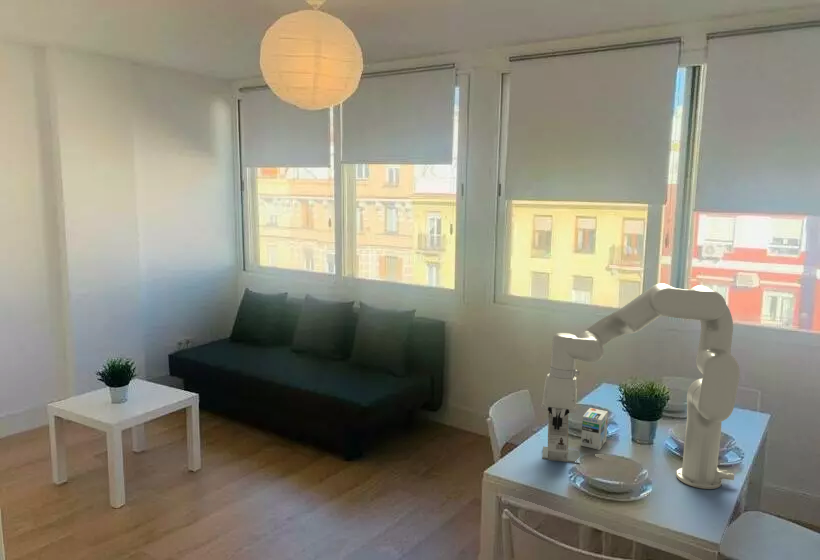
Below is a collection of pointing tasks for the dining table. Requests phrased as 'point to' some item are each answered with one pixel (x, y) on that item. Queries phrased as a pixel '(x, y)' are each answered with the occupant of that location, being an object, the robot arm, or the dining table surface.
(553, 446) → the coffee box
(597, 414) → the light bulb box
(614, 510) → the dining table surface
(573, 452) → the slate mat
